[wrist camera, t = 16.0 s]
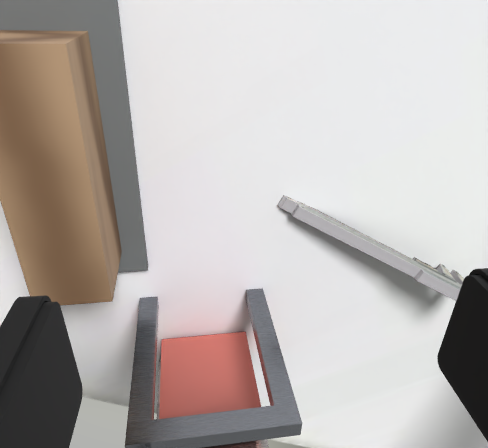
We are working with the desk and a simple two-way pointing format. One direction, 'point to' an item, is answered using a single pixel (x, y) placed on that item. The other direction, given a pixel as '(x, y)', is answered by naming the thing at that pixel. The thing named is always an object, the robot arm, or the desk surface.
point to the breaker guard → (219, 423)
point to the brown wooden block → (56, 167)
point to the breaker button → (206, 375)
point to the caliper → (377, 249)
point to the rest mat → (110, 100)
